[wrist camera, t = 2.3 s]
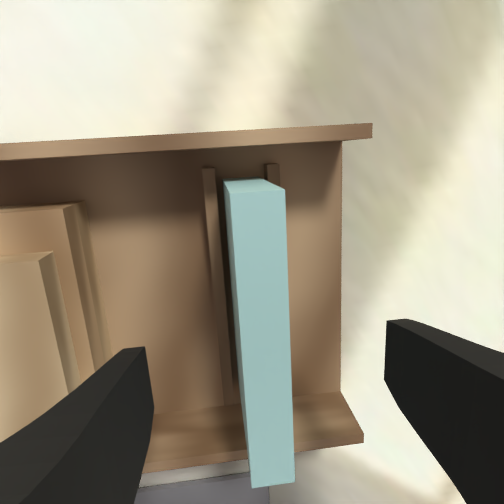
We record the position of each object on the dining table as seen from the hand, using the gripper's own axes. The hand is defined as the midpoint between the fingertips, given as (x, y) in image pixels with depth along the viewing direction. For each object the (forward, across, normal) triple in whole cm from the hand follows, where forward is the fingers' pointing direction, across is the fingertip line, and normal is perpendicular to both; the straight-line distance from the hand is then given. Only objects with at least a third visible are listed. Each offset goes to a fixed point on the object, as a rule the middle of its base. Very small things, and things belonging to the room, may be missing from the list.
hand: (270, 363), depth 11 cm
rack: (+7, +3, 0) cm, 8 cm away
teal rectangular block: (+6, 0, 0) cm, 6 cm away
